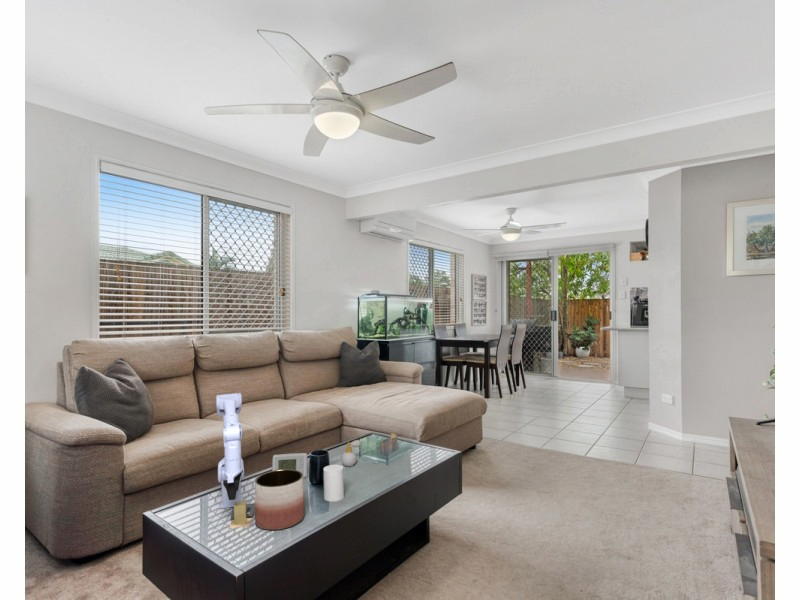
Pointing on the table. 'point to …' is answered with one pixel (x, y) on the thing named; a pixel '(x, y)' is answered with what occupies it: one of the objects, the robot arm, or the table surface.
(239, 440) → the robot arm
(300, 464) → the digital clock
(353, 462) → the perfume bottle
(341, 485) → the cup
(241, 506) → the brushed brass bar
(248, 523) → the coaster
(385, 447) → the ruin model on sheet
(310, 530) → the table surface
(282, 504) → the planter
